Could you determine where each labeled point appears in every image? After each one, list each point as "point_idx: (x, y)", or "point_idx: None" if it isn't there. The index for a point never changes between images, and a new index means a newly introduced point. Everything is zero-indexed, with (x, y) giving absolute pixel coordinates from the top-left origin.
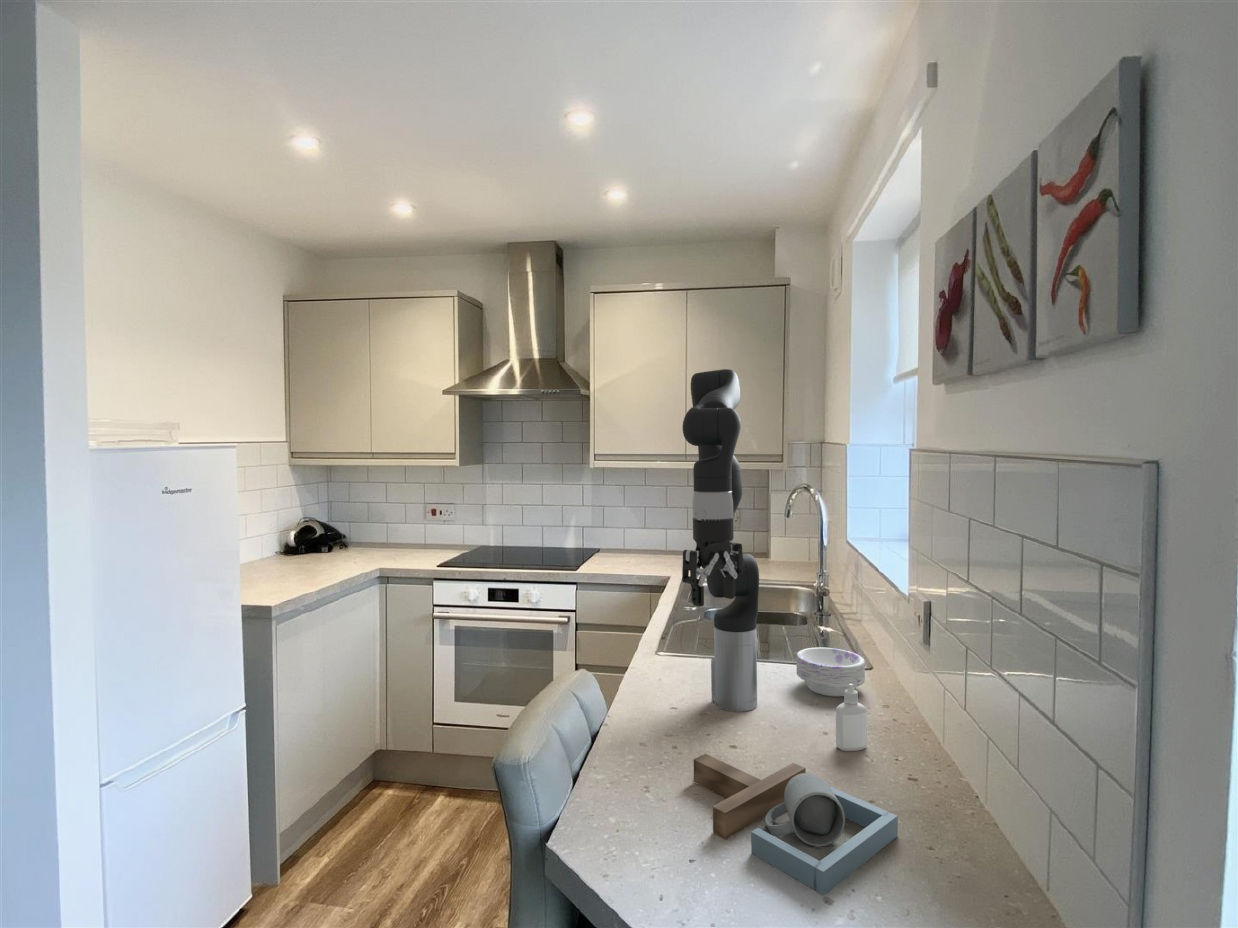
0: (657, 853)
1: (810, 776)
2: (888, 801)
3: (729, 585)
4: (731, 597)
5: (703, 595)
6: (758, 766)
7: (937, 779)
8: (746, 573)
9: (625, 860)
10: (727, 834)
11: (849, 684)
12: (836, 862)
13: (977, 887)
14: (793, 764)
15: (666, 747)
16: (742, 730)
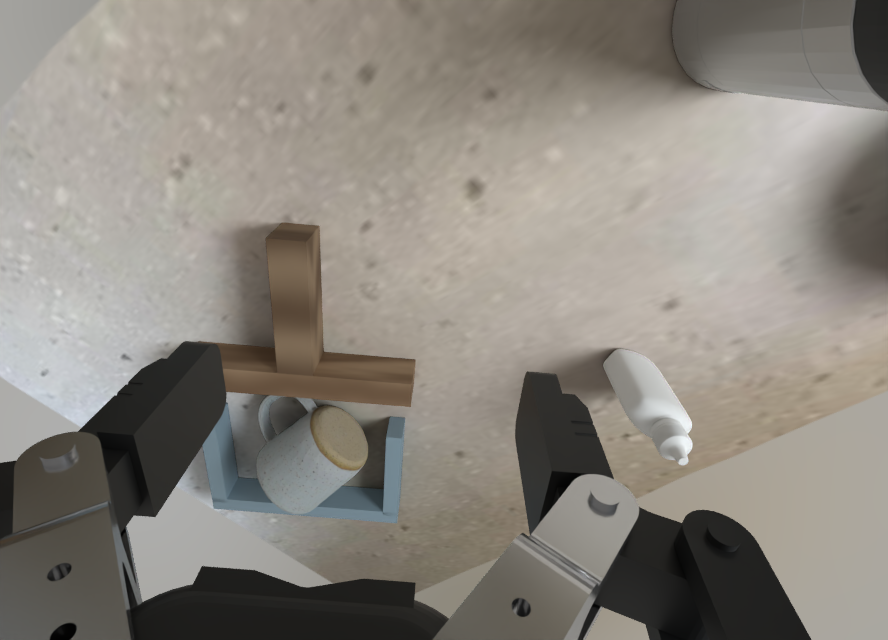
0: (87, 314)
1: (320, 476)
2: (476, 468)
3: (530, 482)
4: (516, 431)
5: (188, 458)
6: (432, 280)
7: None
8: None
9: (32, 292)
10: None
11: (679, 459)
12: (243, 510)
13: (370, 569)
14: (406, 387)
15: (349, 57)
16: (570, 151)
